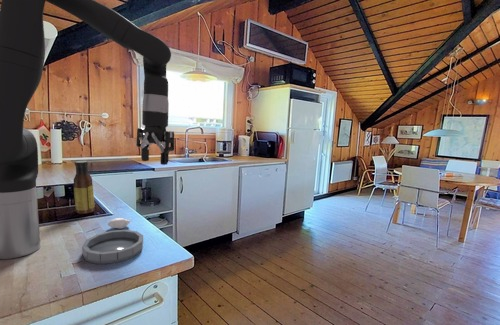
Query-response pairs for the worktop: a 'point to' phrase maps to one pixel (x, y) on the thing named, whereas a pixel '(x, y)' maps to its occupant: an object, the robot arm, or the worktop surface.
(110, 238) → the round dish
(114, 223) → the dumpling
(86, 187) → the sauce bottle
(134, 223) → the worktop surface
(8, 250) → the robot arm
